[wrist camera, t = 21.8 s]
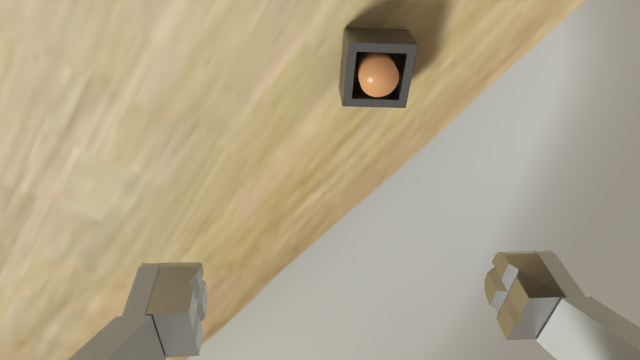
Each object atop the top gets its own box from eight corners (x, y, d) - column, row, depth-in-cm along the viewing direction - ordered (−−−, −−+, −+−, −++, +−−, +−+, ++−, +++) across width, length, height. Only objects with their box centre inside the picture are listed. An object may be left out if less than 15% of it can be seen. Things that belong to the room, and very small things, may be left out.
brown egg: (353, 81, 43) (357, 96, 40) (357, 45, 41) (362, 59, 38) (389, 81, 43) (395, 97, 40) (394, 46, 41) (402, 60, 38)
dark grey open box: (338, 88, 44) (342, 106, 41) (344, 27, 40) (348, 42, 37) (397, 90, 45) (405, 107, 41) (408, 30, 41) (417, 45, 38)
